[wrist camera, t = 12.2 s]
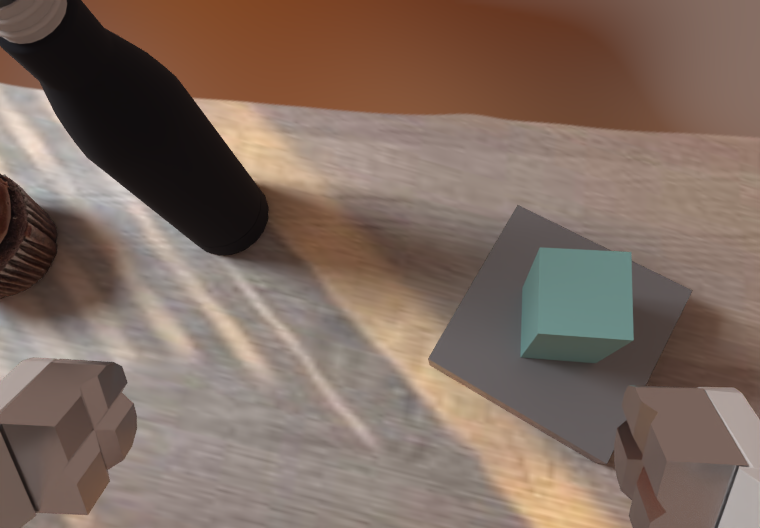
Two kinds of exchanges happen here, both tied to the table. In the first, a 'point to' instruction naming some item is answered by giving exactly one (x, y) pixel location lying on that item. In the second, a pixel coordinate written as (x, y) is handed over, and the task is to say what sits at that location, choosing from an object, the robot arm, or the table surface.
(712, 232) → the table surface
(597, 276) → the teal block
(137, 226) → the table surface
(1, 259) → the cupcake
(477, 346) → the plate
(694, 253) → the table surface
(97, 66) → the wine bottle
